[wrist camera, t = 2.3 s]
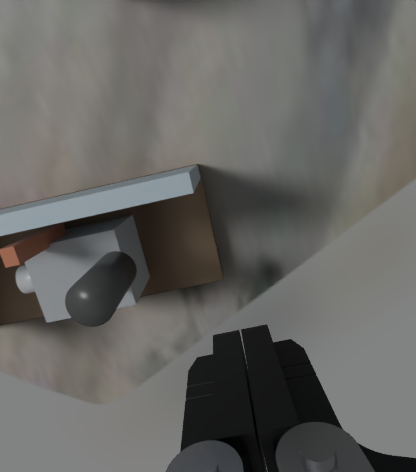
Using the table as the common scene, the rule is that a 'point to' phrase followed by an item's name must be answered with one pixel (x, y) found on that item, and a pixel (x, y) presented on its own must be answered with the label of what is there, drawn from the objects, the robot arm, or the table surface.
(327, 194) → the table surface
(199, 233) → the base
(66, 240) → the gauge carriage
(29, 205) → the board
